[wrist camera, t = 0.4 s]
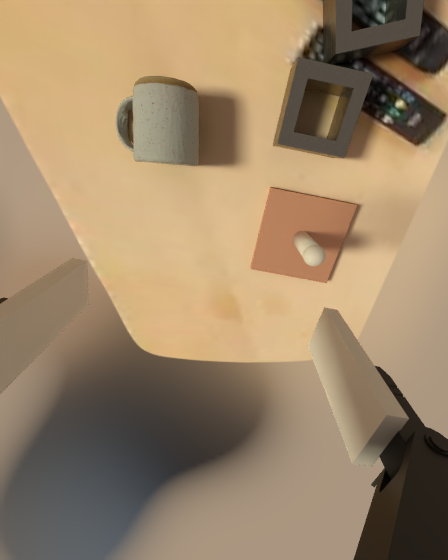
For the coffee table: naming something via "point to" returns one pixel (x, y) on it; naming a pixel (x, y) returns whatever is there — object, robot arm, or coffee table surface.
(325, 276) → the brown base with peg
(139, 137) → the ceramic mug
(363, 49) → the grey square hollow block
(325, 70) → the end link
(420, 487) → the robot arm
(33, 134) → the coffee table surface
